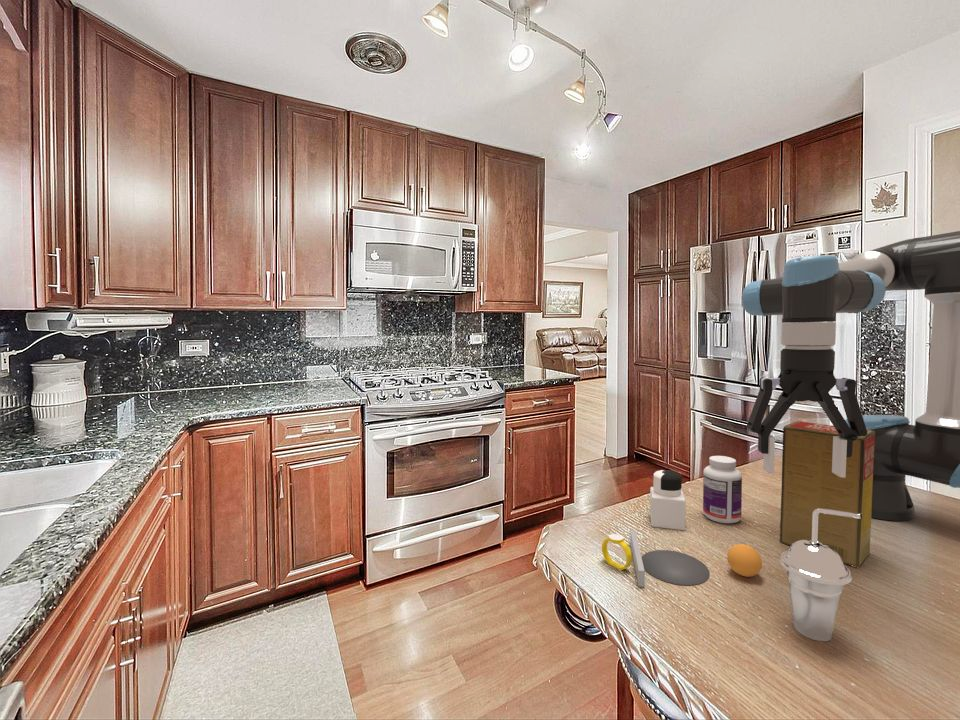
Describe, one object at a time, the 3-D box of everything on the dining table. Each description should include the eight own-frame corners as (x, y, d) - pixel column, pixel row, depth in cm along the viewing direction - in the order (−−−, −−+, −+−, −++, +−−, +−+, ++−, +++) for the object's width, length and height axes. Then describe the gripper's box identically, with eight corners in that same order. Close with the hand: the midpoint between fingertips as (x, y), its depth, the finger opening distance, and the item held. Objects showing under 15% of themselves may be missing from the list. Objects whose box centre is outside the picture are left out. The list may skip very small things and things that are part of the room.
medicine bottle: (681, 517, 104) (682, 469, 103) (685, 531, 97) (686, 479, 96) (650, 514, 106) (650, 466, 106) (651, 527, 100) (651, 476, 99)
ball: (755, 567, 82) (755, 540, 82) (766, 584, 77) (767, 554, 76) (723, 564, 83) (723, 537, 83) (732, 581, 78) (732, 551, 78)
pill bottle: (731, 511, 107) (732, 454, 106) (748, 525, 99) (749, 464, 98) (697, 510, 108) (698, 453, 107) (711, 525, 100) (712, 464, 99)
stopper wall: (635, 543, 92) (635, 529, 92) (644, 587, 77) (644, 571, 77) (630, 543, 93) (630, 529, 92) (638, 586, 77) (638, 570, 77)
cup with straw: (812, 609, 70) (817, 489, 68) (869, 650, 61) (875, 513, 59) (764, 615, 69) (768, 492, 67) (815, 657, 60) (820, 518, 58)
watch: (600, 564, 85) (598, 534, 85) (608, 559, 87) (606, 529, 87) (626, 575, 81) (624, 543, 80) (635, 569, 82) (633, 538, 82)
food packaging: (871, 552, 87) (877, 429, 85) (859, 569, 81) (865, 438, 79) (793, 529, 97) (796, 419, 95) (777, 542, 92) (780, 426, 90)
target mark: (700, 554, 87) (700, 553, 87) (717, 589, 76) (717, 588, 76) (637, 548, 90) (637, 547, 90) (644, 581, 79) (644, 580, 79)
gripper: (871, 345, 76) (865, 469, 77) (727, 347, 81) (725, 462, 83) (901, 348, 68) (894, 484, 70) (741, 349, 74) (738, 476, 76)
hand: (802, 472), depth 77 cm, fingers open, 10 cm apart
